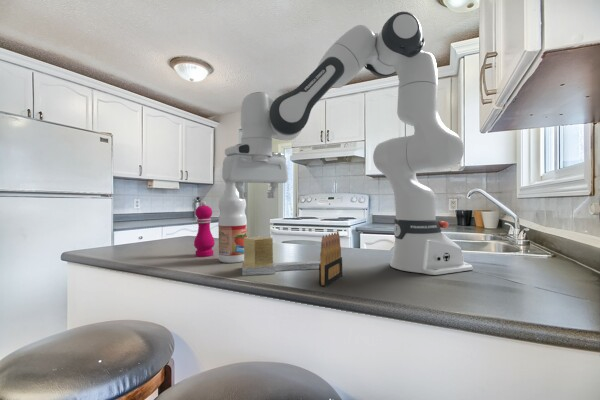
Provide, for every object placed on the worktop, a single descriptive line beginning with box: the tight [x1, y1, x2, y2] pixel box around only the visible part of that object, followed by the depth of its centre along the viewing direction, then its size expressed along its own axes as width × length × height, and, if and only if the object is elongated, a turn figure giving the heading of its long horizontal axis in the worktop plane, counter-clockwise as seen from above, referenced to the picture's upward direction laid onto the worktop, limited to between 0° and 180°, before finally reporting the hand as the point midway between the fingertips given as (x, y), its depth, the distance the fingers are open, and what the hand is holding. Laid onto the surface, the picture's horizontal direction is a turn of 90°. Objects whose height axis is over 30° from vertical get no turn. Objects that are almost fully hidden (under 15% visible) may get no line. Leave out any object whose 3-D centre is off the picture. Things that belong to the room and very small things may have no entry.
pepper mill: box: [193, 200, 215, 258], centre depth 109 cm, size 7×7×20 cm
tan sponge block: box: [244, 235, 274, 267], centre depth 86 cm, size 6×6×8 cm
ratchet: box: [241, 260, 320, 276], centre depth 88 cm, size 27×9×6 cm, turn 100°
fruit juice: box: [217, 181, 248, 264], centre depth 100 cm, size 9×9×28 cm
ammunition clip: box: [318, 231, 343, 287], centre depth 75 cm, size 11×2×12 cm, turn 150°
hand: (257, 198), depth 86 cm, fingers open, 8 cm apart
